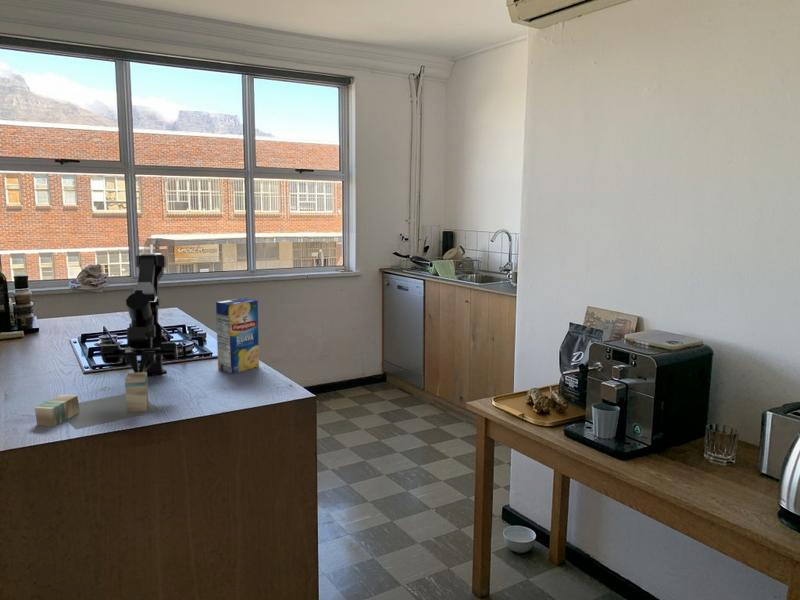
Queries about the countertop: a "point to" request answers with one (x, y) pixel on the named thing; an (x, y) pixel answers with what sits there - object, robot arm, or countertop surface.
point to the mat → (105, 411)
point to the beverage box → (237, 335)
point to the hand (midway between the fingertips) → (138, 380)
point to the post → (136, 391)
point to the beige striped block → (57, 410)
